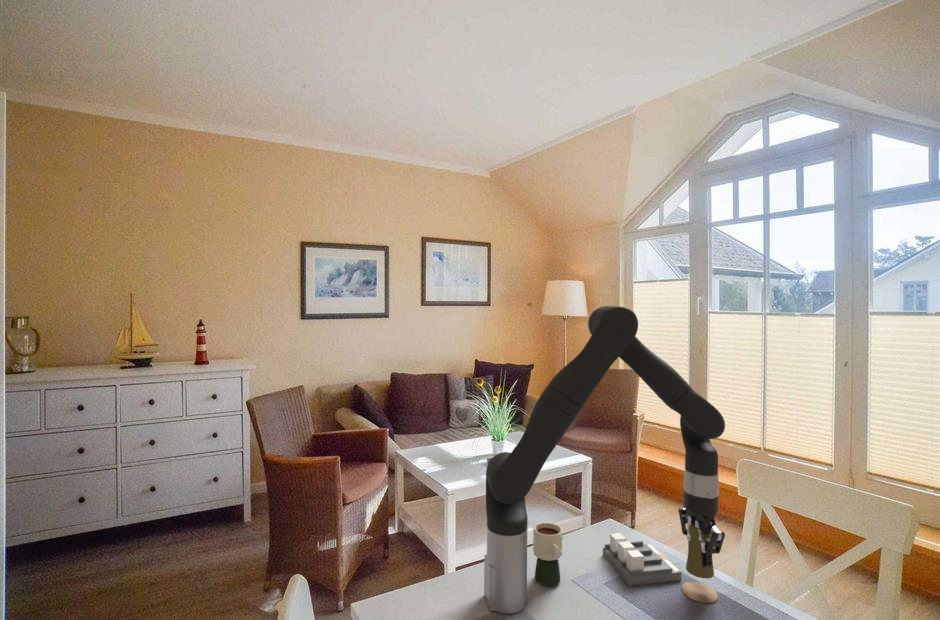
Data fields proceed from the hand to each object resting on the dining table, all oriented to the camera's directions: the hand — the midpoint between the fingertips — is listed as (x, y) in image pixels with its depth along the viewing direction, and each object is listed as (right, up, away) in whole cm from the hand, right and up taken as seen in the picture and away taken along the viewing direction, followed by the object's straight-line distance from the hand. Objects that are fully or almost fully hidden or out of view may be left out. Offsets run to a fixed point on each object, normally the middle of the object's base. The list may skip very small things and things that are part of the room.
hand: (699, 561), depth 111 cm
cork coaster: (0, -8, 0) cm, 8 cm away
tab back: (-15, -5, +15) cm, 21 cm away
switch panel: (-10, -7, +11) cm, 17 cm away
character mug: (-35, -7, +4) cm, 36 cm away
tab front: (-13, -5, +6) cm, 15 cm away
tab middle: (-14, -5, +10) cm, 18 cm away
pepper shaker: (0, -2, 0) cm, 2 cm away
